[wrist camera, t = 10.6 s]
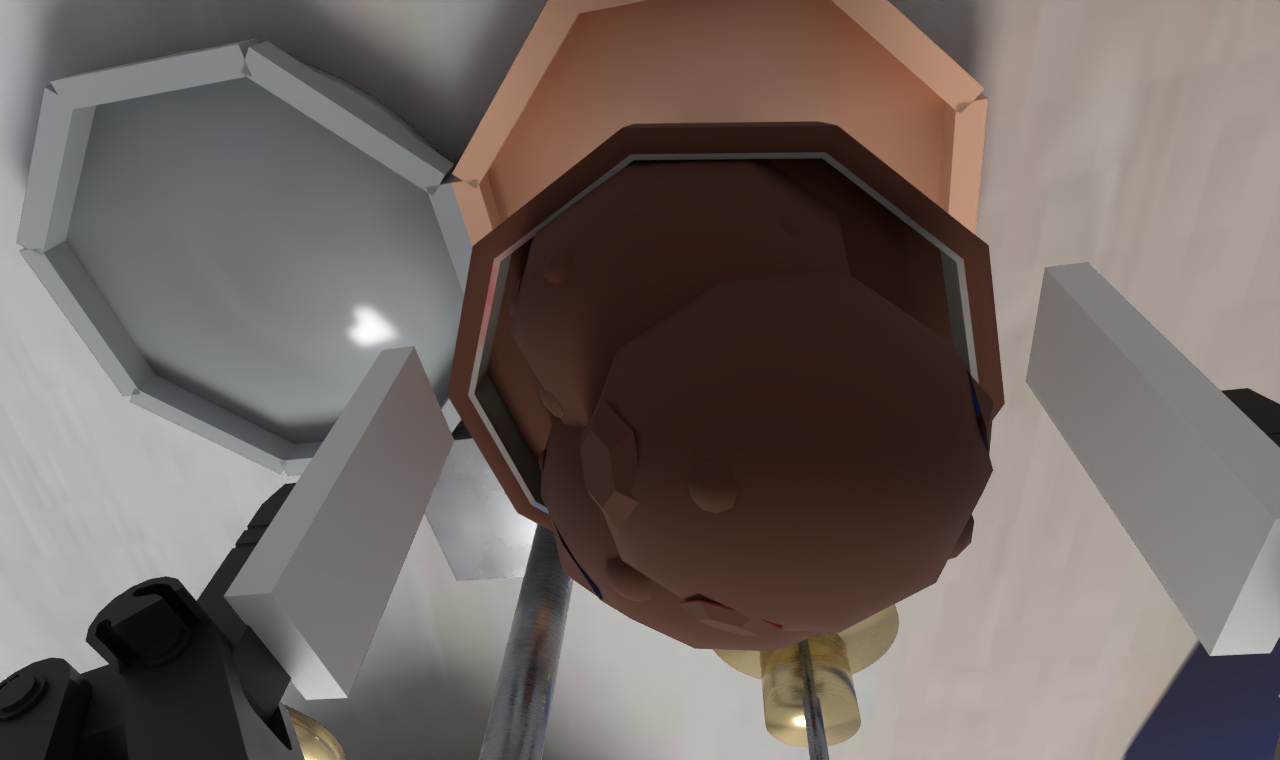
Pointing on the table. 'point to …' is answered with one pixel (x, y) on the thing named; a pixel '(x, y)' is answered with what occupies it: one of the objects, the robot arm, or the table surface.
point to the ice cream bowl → (735, 378)
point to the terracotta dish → (724, 91)
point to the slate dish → (243, 241)
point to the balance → (516, 546)
